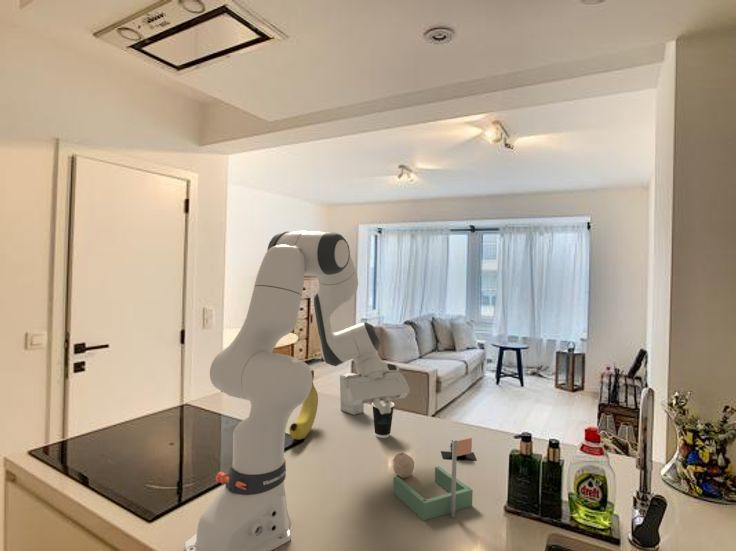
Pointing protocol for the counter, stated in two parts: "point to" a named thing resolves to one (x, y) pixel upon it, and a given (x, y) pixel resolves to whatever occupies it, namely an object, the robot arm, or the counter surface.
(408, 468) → the garlic bulb
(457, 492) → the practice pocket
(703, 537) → the counter surface
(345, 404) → the skincare box
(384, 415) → the dixie cup
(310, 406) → the banana
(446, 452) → the build plate
